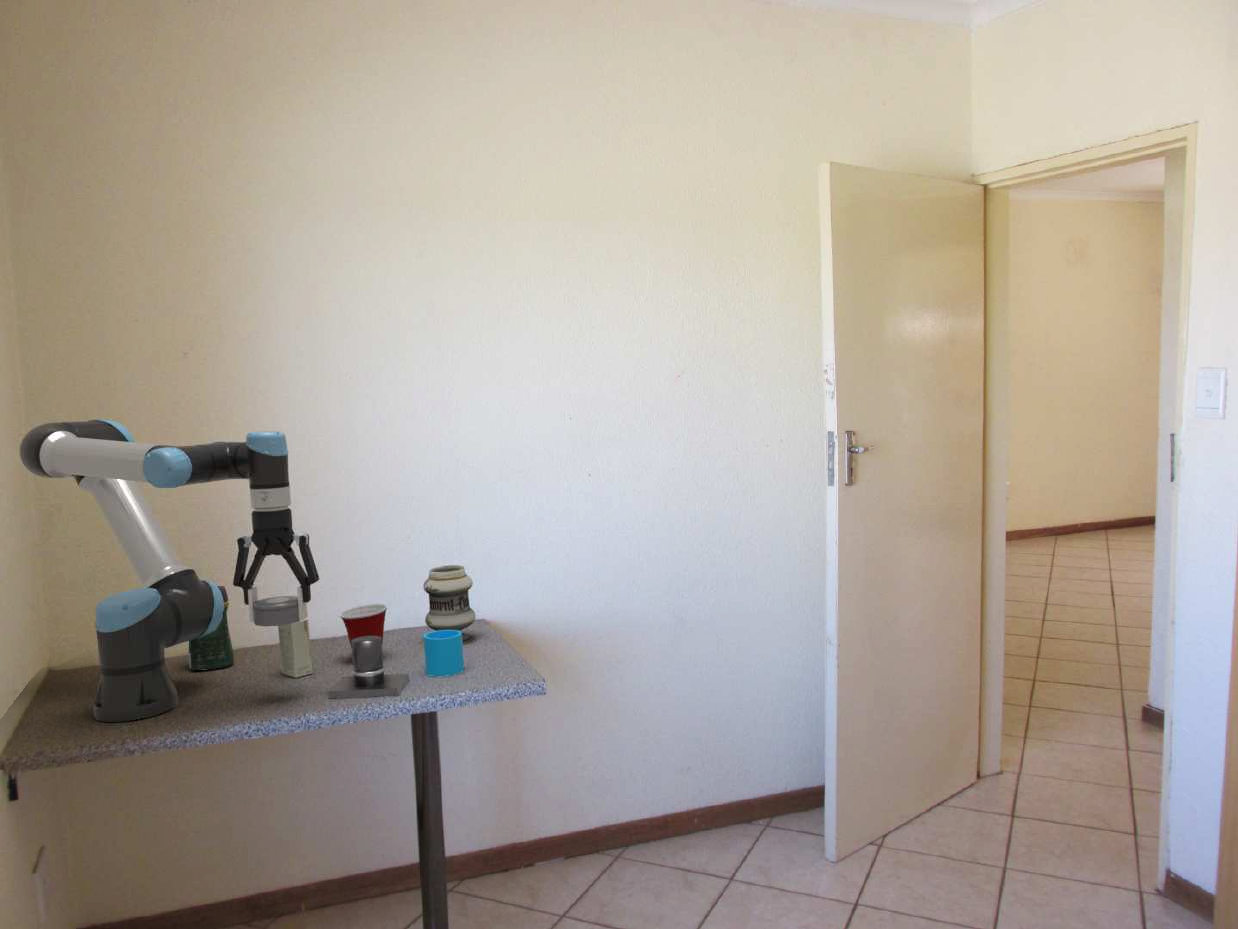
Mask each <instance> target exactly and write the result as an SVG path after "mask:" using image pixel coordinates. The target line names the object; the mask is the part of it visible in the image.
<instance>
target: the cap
mask: <svg viewBox="0 0 1238 929" xmlns="http://www.w3.org/2000/svg"><path fill="white" fill-rule="evenodd" d="M253 605H254V608H253V614H254V622H253V624H255V626H260V627H278V626H280V625H287V624H292V623H295V622H299V621H301V620H299V607H298V595H297V596H296V595H295V596H294V595H283V596H282V595H281V596H274V597H266V598H261V599H258V601H256V602H254V603H253Z"/></svg>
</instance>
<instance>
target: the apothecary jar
mask: <svg viewBox="0 0 1238 929" xmlns="http://www.w3.org/2000/svg"><path fill="white" fill-rule="evenodd" d="M465 570H466V569H465V566H464V565H459V564H454V565H452V564H450V565H440V566H437V567H436V566H435V567H433V568H431V569H429V570H428V577H427V579H426V580H424V582H423V588H422V589H423V590H424V592H425V593H426V594H428V600H429V601H428V602H429V603H428V604H429V611H428V612H427V614H426V616H425V619H424V621H425V624H426V626H427V627H428V628H430V629H431V630H434V631H440V630H458V631H463V630H465V629H467V628H468V627H470V626H472V625H473V623H474V622H475V621H476V617H477V616H476V612H475V611H474V610H473V609H472V608H471V607H470V599H469V598H470V597H469V590H471V588H472V587H473V579H472V578H471V576H469V575H468V574H466V573H467V572H465ZM472 640H473V637H472V636H471V635H470V634H468V633H465V632H462V644H463V645H465V644H468V643H470V642H472Z"/></svg>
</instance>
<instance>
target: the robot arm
mask: <svg viewBox="0 0 1238 929" xmlns="http://www.w3.org/2000/svg"><path fill="white" fill-rule="evenodd" d="M245 437H246V439H245V440H246V441H213V442H208V443H204V444H195V445H194V444H193V445H183V446H182V445H179V446H178V445H177V446H176V445H164V444H155V443H153V444H152V443H142V442H135V440H134V438H133V436H132V434H131V432H130V431H129V430H128V429H127V428H126V427H125V426H124V425H122V424H121V423H120V422H117V421H114V420H108V419H106V420H105V419H91V420H84V421H83V420H82V421H64V422H63V421H62V422H47V423H42V424H40V425H37V426H35V427H34V428H32V429H31V430H29V431H28V432H27V433H26V434H25V435H24V437H23V438H22V440H21V442H20V444H19V449H18V451H19V457H20V460H21V462H22V465H23V467H25V468H26V469H27V471H29V472H30V473H32V474H34V475H36V476H37V477H41V478H45V479H46V478H47V479H66V478H70V477H73V478H74V481H75V482H76V484H77V485H78V487H79V488H80V490H81V491H83V492H87V493H91V494H92V497H94V500H95V502H96V503H97V505H98V507H99V508H100V510H101V512H102V514H103V516H104V518H105V520H106V521H107V522H108V525H109V527H110V528H111V530H112V532H113V534H114V535H115V537H116V539H117V541H118V542H119V545H120V546H121V548H122V550H123V552H124V553H125V555H126V557H127V559H128V561H129V563H130V564H131V566H132V568H133V570H134V572H135V573H136V574H137V577H138V578H139V580H140V582H141V584H142V588H141V587H140V588H134V589H133V588H132V589H130V590H125V591H120V592H118V593H117V592H116V593H114V594H112V595H110V596H107V597H105V598H103V599H102V600H101V601H99V602H98V603H97V605H96V607H95V611H94V612H95V622H94V628H95V630H96V639H97V640H96V641H97V653H98V659H99V660H98V662H99V672H100V674H99V675H100V678H99V683H98V686H97V691H96V694H95V698H94V703H93V707H92V708H93V717H94V719H95V718H96V719H95V720H96V721H99V722H106V723H118V722H119V723H120V722H130V720H131V721H136V719H137V720H142V719H141V718H143V719H147V718H151V717H154V716H155V717H156V716H158V715H160V713H161V714H164V713H166V712H168V711H171V710H172V709H174V708H175V707H176V706H178V704H179V697H178V696H179V695H178V691H177V689H176V686H175V684H174V681H173V680H172V677H171V676H170V674H169V671H168V668H167V667H166V658H165V649H168V648H171V647H174V646H177V645H180V644H183V643H186V642H189V641H190V640H195V639H199V638H201V637H202V636H204V635H206V634H209V633H211V632H212V631H214V630H215V629H216V628H217V627H218V625H219V624H220V622H221V620H222V616H223V614H222V613H223V611H224V601H223V597H222V594H221V592H220V590H219V588H218V587H217V586H218V585H216V583H214V582H213V581H210V580H207V579H200V578H199V576H198V575H197V573H196V570H195V569H194V568H193V567H189V566H185V565H183V564H182V561H181V560H180V558H179V556H178V555H177V552H176V551H175V549H174V547H173V546H172V543H171V541H170V540H169V539H168V536H167V534H166V533H165V532H164V530H163V528H162V526H161V524H160V523H159V521H158V519H157V518H156V516H155V514H154V511H153V510H152V509H151V507H150V505H149V504H148V502H147V500H146V498H145V496H144V495H143V493H142V491H141V489H140V487H139V486H138V484H137V482H141V483H148V484H151V485H152V486H151V487H154V488H157V489H174V488H179V487H182V486H183V487H184V486H189V485H196V484H204V483H213V482H219V481H227V480H248V482H249V494H250V495H249V497H250V507H251V508H252V509H253V510H252V511H251V525H252V534H251V536H246V535H244V536H242V537H239V538H237V540H236V542H237V549H238V553H237V558H236V563H235V570H234V574H233V576H234V577H233V580H232V585H233V586H234V587H235V588H236V587H238V588H241V589H242V591H243V603H244V605H245V606H248V612H249V623H254V614H253V608H254V605H253V603H254V602H256V601H258V600H259V599H258V587H257V586H254V585H255V584H254V583H255V581H256V578H257V577H258V574H259V572H260V570H261V567H262V565H263V563H264V561H265V558H267V557H268V556H272V555H274V556H281V557H282V558H283V559H284V561H285V562H286V563H287V565H288V566H289V568H290V570H291V572H292V573H293V575H294V576H295V579H296V580H297V581H298V583H299V585H300V586H298V587H297V588H296V590H297V592H296V593H297V597H298V607H299V620H304V619H308V604H307V603H310V602H311V600H312V596H311V595H312V593H311V585H314V584H315V583H317V582H319V580H320V576H319V573H318V569H317V566H316V563H315V560H314V557H313V554H312V550H311V547H310V535H309V534H308V533H305V534H296V533H295V532H294V530H293V516H292V515H293V514H292V509H290V506H291V504H292V500H291V499H292V498H291V488H290V486H291V485H290V478H289V477H290V476H289V450H288V443H287V438H286V437H287V436H286V434H285V433H284V432H283V431H281V430H270V431H269V430H266V431H265V430H264V431H252V432H248V433H247V434H246V436H245ZM294 541H295V543H296V545H297V546H298V549H299V552H300V555H301V559H302V562H303V565H304V568H303V566H302V564H301V563H300V561H299V559H298V558H297V556H296V554H295V551H294V549H293V548H292V544H293V543H294ZM252 543H253V545H254V546H255V547H256V548H257V550H256V552H255V554H254V558H253V560H252V563H251V564H250V567H249V569H248V572H247V574H246V570H247V564H248V560H249V553H250V547H251V546H252ZM304 569H305V570H304ZM175 705H176V706H175ZM174 706H175V707H174ZM173 707H174V708H173ZM170 709H171V710H170ZM165 711H166V712H165ZM163 712H164V713H163Z"/></svg>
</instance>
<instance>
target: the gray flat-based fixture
mask: <svg viewBox="0 0 1238 929" xmlns="http://www.w3.org/2000/svg"><path fill="white" fill-rule="evenodd" d="M351 643H352V648H351V654H352V656H351V657H352V667H353V668H352V676H346V675H345V676H342V677H341V678H340V679H339V680H338V681H337V682H336V683H335V684H334V685H333V686H332V687H330V689H329V690H328V691H327V694H328V699H349V698H351V699H352V698H374V697H373V696H379V697H394V696H395V697H397V696H399V695H400V694H401V693H402V691H403V690H404V688H405V687H406V686H407V684H408V683H409V682H410V674H409V673H395V674H385V665H384V655H383V644H382V639H381V637H380V636H363V637H358V638H355V639H353V640H352V641H351ZM408 681H409V682H408ZM399 693H400V694H399ZM396 695H397V696H396ZM371 696H372V697H371Z"/></svg>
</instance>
